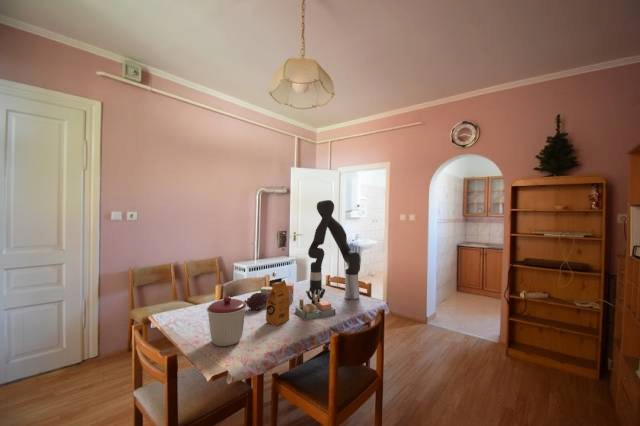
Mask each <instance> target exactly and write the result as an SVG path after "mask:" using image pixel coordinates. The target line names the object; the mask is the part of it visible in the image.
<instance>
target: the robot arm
mask: <svg viewBox="0 0 640 426" xmlns="http://www.w3.org/2000/svg"><path fill="white" fill-rule="evenodd" d="M316 210H317V212H318V214H319V215H320V217H321V220H320V222H319V224H318V225H317V226H316V229H315V232H314V236H313V240H312V243H311V244H310V246H309V248H308V252H307V254H308V257H309V258H311V259H315V261H312V262H311V263H310V273H309V289H308V290H306V291H305V293H306V296H307V298H308V300H310V301H311V303H312V304H314V305H315V297H318V302H321V300H320V299H323V297H324V295H325V293H326V289H325V288H323V287H322V285H323V283H322V282H323V281H322V280H323V277H322V275H323V274H322V266H323V265H322V264H323V261H324V258H325V250H324V249H323V248H321V247H319V246H322V245H324V243H325V238H326V235H327V230H329V232H330V234H331V236H332V238H333V240H334V242H335V243H336V245H337V248H339V251H340V254H341V256H342V258H343V260H344V262H345V263H347V264H348V268H346V269H345V270H344V271H345V274H344V275H345V276H344V279H345V280H344V282H345V283H344V286H345V287H344V298H345V299H347V300H357V299H360V284H359V271H360V267H361V256H360V253H359V252H357V251H354V250H351V247H350V246H349V244H348V238H347V233H346V231H345V229H344V227H343V226H342V224H341V223H339V222H338V221H337V220H336V219H335V218H334V216H333V213H334V210H335V204H334V201H332V200H330V199H326V200H321V201H318V202H317V204H316Z"/></svg>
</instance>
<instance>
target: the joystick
mask: <svg viewBox="0 0 640 426" xmlns="http://www.w3.org/2000/svg"><path fill="white" fill-rule="evenodd" d="M315 306H317V308H318V309H319V310H321V311H324V310H330V309H331V307H332V303H330V302H329V301H327V300H325V301H320V302H318V297H317V296H315Z"/></svg>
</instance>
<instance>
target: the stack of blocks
mask: <svg viewBox="0 0 640 426" xmlns="http://www.w3.org/2000/svg"><path fill="white" fill-rule="evenodd" d="M286 285H287V288H288V291H289V303H290V304H291V305H292V304H293V302H294V283H291V282H286ZM271 289H272V286H262V287H261V288H260V293H263V294H266V296H269V294H270V293H271ZM290 304H289V305H290Z"/></svg>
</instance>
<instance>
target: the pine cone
mask: <svg viewBox="0 0 640 426" xmlns="http://www.w3.org/2000/svg"><path fill="white" fill-rule="evenodd" d="M267 298H268V296H266V294H263V293H261V292H255V293H253V294H251V295H250V297H247V300H246V299H244V301H243V302H245V303H246V304H247V307H248V309H250V310H253V311H254V310H255V311H256V310H257V309H259V308H261V306H264V305H266V302H267Z"/></svg>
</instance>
